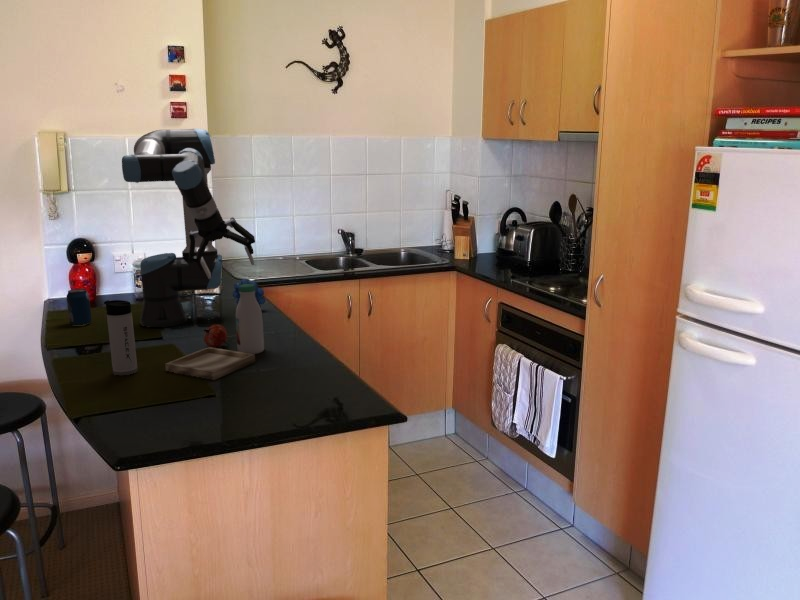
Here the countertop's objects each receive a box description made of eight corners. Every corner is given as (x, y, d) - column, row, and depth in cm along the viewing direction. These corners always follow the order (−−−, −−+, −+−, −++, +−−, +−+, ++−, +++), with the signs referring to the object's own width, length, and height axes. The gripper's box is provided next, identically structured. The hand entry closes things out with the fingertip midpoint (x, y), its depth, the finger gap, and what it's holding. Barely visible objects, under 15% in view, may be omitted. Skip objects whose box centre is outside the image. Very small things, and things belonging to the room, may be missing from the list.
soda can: (96, 322, 247) (92, 288, 245) (85, 327, 241) (81, 292, 238) (76, 321, 248) (72, 288, 245) (65, 327, 241) (61, 292, 239)
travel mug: (115, 369, 197) (108, 298, 193) (140, 368, 198) (133, 297, 193) (108, 376, 191) (100, 303, 186) (134, 375, 192) (126, 303, 187)
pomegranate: (219, 349, 221) (192, 335, 215) (232, 330, 222) (206, 315, 216) (226, 358, 215) (199, 344, 209) (240, 338, 216) (214, 323, 210)
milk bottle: (269, 348, 214) (265, 283, 209) (255, 356, 207) (251, 288, 202) (246, 346, 216) (242, 281, 212) (232, 354, 209) (227, 287, 205)
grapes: (231, 314, 255) (229, 281, 252) (234, 310, 262) (232, 278, 259) (264, 313, 256) (262, 280, 253) (266, 309, 262) (264, 277, 260)
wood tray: (165, 371, 195) (165, 363, 194) (208, 354, 209) (208, 346, 209) (214, 380, 187) (213, 372, 187) (255, 361, 202) (254, 354, 201)
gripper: (162, 233, 200) (191, 289, 214) (248, 206, 202) (271, 263, 216) (162, 219, 206) (191, 274, 220) (245, 192, 207) (269, 249, 221)
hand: (231, 269), depth 218 cm, fingers open, 13 cm apart
